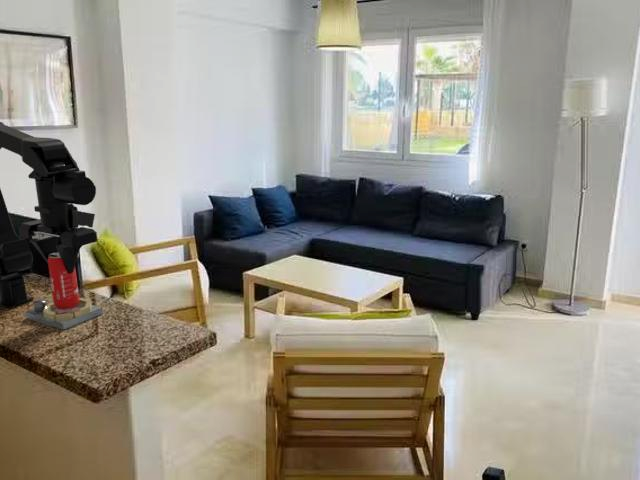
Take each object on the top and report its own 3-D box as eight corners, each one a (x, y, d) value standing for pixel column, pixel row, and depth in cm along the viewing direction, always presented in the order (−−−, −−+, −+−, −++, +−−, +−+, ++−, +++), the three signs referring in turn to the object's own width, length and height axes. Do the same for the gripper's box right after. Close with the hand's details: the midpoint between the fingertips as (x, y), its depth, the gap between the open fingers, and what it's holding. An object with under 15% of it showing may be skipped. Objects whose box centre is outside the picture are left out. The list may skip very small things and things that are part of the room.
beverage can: (70, 311, 123) (63, 258, 120) (49, 309, 124) (41, 256, 121) (84, 302, 128) (78, 251, 125) (64, 300, 129) (57, 250, 126)
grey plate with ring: (26, 318, 126) (24, 303, 126) (66, 303, 135) (64, 289, 134) (63, 330, 120) (61, 314, 119) (103, 313, 128) (101, 299, 127)
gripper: (114, 198, 122) (121, 267, 126) (58, 190, 131) (67, 255, 135) (68, 207, 113) (78, 282, 117) (12, 198, 122) (23, 268, 126)
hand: (62, 271), depth 124 cm, fingers closed on beverage can, 5 cm apart
